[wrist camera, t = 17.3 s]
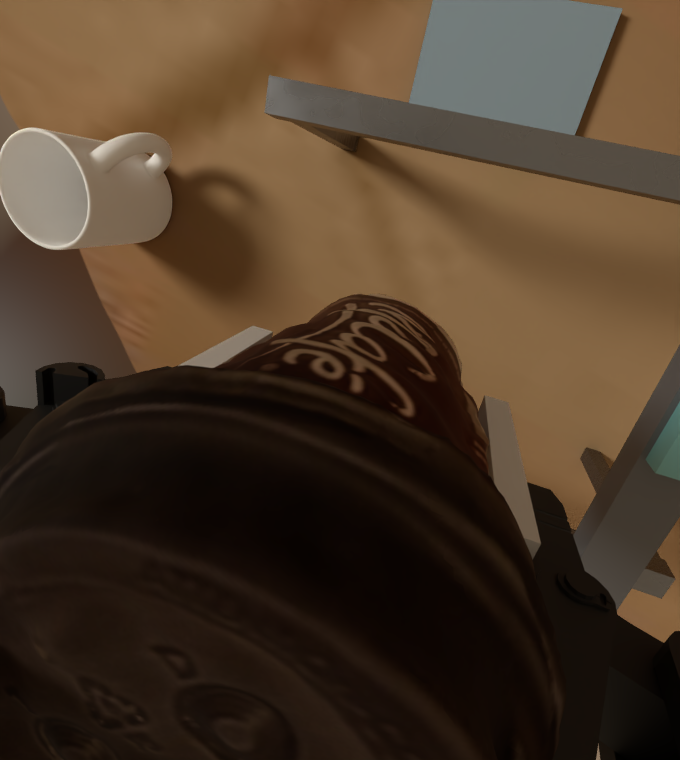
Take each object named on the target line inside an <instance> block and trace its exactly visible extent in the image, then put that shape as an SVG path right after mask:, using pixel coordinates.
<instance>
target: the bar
mask: <svg viewBox="0 0 680 760" xmlns="http://www.w3.org/2000/svg"><path fill="white" fill-rule="evenodd" d="M679 517H680V345H679V347H678V349H677V351H676V352H675V354H674V356H673V358H672V360H671V361H670V363H669V365H668V367H667V369H666V370H665V372H664V374H663V376H662V378H661V379H660V381H659V383H658V385H657V386H656V388H655V390H654V392H653V394H652V395H651V397H650V399H649V401H648V403H647V404H646V406H645V408H644V410H643V412H642V413H641V415H640V417H639V419H638V421H637V422H636V424H635V426H634V428H633V429H632V431H631V433H630V435H629V437H628V438H627V440H626V442H625V444H624V446H623V447H622V449H621V451H620V453H619V455H618V456H617V458H616V460H615V462H614V463H613V465H612V467H611V469H610V471H609V472H608V474H607V476H606V478H605V480H604V481H603V483H602V485H601V487H600V489H599V490H598V492H597V494H596V496H595V497H594V499H593V501H592V503H591V505H590V506H589V508H588V510H587V512H586V514H585V515H584V517H583V519H582V521H581V523H580V524H579V526H578V528H577V530H576V531H575V533H574V535H573V537H574V540H575V543H576V546H577V549H578V552H579V555H580V558H581V561H582V564H583V567H584V570H585V571H586V572H587V573H589V574H590V575H591V576H593V577H594V578H596V579H597V580H598V581H599V582H600V583H601V584H602V585H603V586H604V587H605V588H606V589H607V590H608V591H609V593H610V595H611V596H612V598H613V600H614V601H615V604H616V610H617V609H618V608H619V606H620V605H621V603H622V602H623V600H624V599H625V597H626V596H627V594H628V593H629V591H630V590H631V589H632V587H633V586H634V584H635V583H636V581H637V580H638V578H639V577H640V575H641V574H642V572H643V571H644V569H645V568H646V566H647V565H648V563H649V562H650V560H651V559H652V557H653V556H654V554H655V553H656V551H657V550H658V548H659V547H660V545H661V544H662V542H663V541H664V539H665V538H666V536H667V535H668V533H669V532H670V530H671V529H672V527H673V526H674V525H675V523H676V522H677V520H678V519H679Z"/></svg>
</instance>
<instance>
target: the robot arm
mask: <svg viewBox="0 0 680 760" xmlns="http://www.w3.org/2000/svg"><path fill="white" fill-rule="evenodd" d="M272 334H273V332H272V331H269V330H266V329H262V328H259V327H256V326H251V327H250V328H248V329H246V330H244V331H242V332H240V333H238V334H236V335H235V336H233V337H231V338H229V339H227V340H225V341H223V342H222V343H220V344H218V345H216V346H214V347H212V348H210V349H208V350H207V351H205V352H203V353H201V354H199V355H197V356H195V357H194V358H192V359H190V360H188V361H186V362H184V363H182V364H180V365H179V366H182V365H192V366H201V367H209V368H215V367H216V366H218V365H220V364H223V363H227V362H229V361H230V360H231V359H232V358H234V357H235V356H236V355H238V354H240V353H242V352H243V351H245V350H247V349H249V348H250V347H252V346H255V345H258V344H261V343H264V342H266V341H268V340H269V339H270V338H272ZM170 368H172V367H169V366H166V367H162V368H157V369H152V370H159V369H170ZM149 371H150V370H149ZM102 380H105V375H104V373H103V371H102V370H101V369H99V368H97V367H95V366H93V365H88V364H84V363H73V362H67V363H55V364H51V365H47V366H44V367H42V368H40V369H38V370H36V383H37V397H38V406H36V407H35V408H34V409H30V408H23V407H15V406H7V405H6V402H5V393H4V390H3V389H2V388H1V387H0V472H1V470H2V469H3V468H4V466H5V465H6V464H7V463H8V462H9V461H10V460H11V459H13V457H14V456H15V454H16V453H17V450H18V448H19V446H20V445H21V443H22V442H23V441H24V439H25V438H26V437H27V435H28V434H29V432H30V431H31V429H32V428H33V427H34V426H35V424H37V423H38V422H39V421H40V420H42V419H43V418H44V417H46V416H47V415H48V414H49V413H51V412H52V411H53V410H55V409H56V408H58V407H59V406H60V405H62V404H63V403H65V402H66V401H67V400H69V399H71V398H73V397H74V396H76V395H77V394H78V393H80V392H81V391H83V390H84V389H86V388H87V387H89V386H90V385H92V384H93V383H96V382H99V381H102ZM478 420H479V422H480V424H481V426H482V427H483V429H484V431H485V434H486V436H487V438H488V440H489V445H488V449H487V461H488V466H489V476H491V478H492V480H493V482H494V484H495V485H496V487H497V489H498V491H499V492H500V493H501V494H502V495H503V496H504V498H505V500H506V502H507V503H508V505H509V507H510V509H511V511H512V513H513V515H514V517H515V518H516V521H517V523H518V525H519V528H520V530H521V533H522V535H523V537H524V540H525V542H526V544H527V547H528V549H529V551H530V554H531V556H532V561H533V566H534V571H535V576H536V581H537V585H538V587H539V589H540V591H541V593H542V596H543V599H544V603H545V606H546V609H547V612H548V615H549V617H550V619H551V622H552V624H553V627H554V629H555V633H556V642H557V648H558V650H559V653H560V655H561V664H562V668H563V671H564V674H565V677H566V692H567V696H566V703H565V708H564V712H563V716H562V719H561V723H560V738H559V744H558V747H557V750H556V752H555V755H554V757H553V759H552V760H596V755H597V748H598V743H599V751H600V759H601V760H680V631H675V632H674V633H673V634H672V635H671V636H670V637H669V638H668V639H667V640H666V642H665V643H663V642H661V641H659V640H658V639H656V638H654V637H652V636H651V635H649V634H647V633H646V632H644V631H642V630H641V629H639V628H637V627H635V626H634V625H632V624H630V623H629V622H627V621H626V620H624V619H623V618H621V617H620V616H618V615H617V610H616V604H615V601H614V600H613V598H612V596H611V595H610V593H609V591H608V590H607V589H606V588H605V587H604V586H603V585H602V584H601V583H600V582H599V581H598V580H597V579H596V578H594V577H593V576H591V575H590V574H589V573H587V572H586V571H585V570H584V567H583V564H582V561H581V558H580V555H579V552H578V549H577V546H576V543H575V540H574V537H573V534H571V528H570V525H569V522H567V516H566V513H565V510H564V507H563V504H562V503H561V502H560V501H559V500H558V498H557V497H556V496H555V495H554V494H553V492H552V491H551V490H549V489H546V488H543V487H540V486H537V485H534V484H531V483H528V482H527V481H526V476H525V472H524V468H523V463H522V459H521V455H520V450H519V446H518V441H517V437H516V433H515V428H514V424H513V420H512V415H511V411H510V407H509V402H505V401H502V400H499V399H495V398H492V397H489V396H484V399H483V401H482V404H481V406H480V409H479V411H478Z"/></svg>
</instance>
